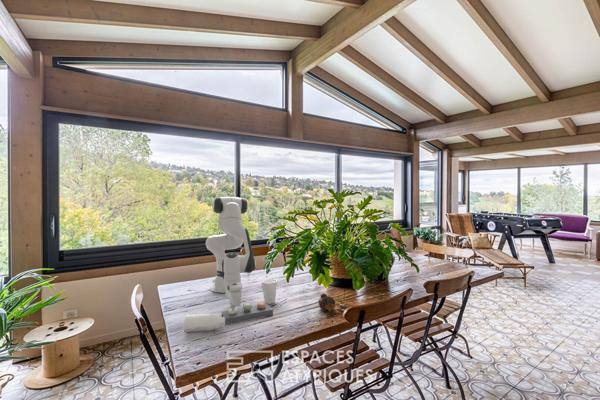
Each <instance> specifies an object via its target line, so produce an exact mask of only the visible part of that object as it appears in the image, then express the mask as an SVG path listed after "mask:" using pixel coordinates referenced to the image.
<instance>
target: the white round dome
mask: <svg viewBox="0 0 600 400" xmlns="http://www.w3.org/2000/svg"><path fill="white" fill-rule="evenodd" d="M237 309H238V308H237V307H235V310H232V309H231V308H230V307H229V308H228V310H227V311H228V314H230V315H233V314H236V313H237Z"/></svg>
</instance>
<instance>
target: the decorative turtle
mask: <svg viewBox="0 0 600 400" xmlns="http://www.w3.org/2000/svg"><path fill="white" fill-rule="evenodd" d="M318 305H319V307H320V310H321V311H322V312H323V313H325V312H326V311H328V312H330V313H333V312H334V311H335V306H336V301H335V299H334V298H333V297H332V296H328V294H326V293H324V292H323V293H321V294H320V297H319V299H318Z"/></svg>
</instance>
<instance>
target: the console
mask: <svg viewBox="0 0 600 400" xmlns="http://www.w3.org/2000/svg"><path fill="white" fill-rule="evenodd" d="M265 306H266V307H265V308H264V309H258V308H257V304H256V305H252V308H251V309H250V311H249V312H245V310H244V309H243V307H239V308H237V313H236V314H233V315H230V314H228V310H224V311H221V317H222V318H223V317H225V325H229V324H236V323H240V322H245V321H250V320H253V319H255V320H256V319H260V318H264V317H268V316H273V315H274V309H273V308H272V307H271V306H270V304H267V303H265ZM225 325H224V326H225Z"/></svg>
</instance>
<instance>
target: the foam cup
mask: <svg viewBox="0 0 600 400" xmlns="http://www.w3.org/2000/svg"><path fill="white" fill-rule="evenodd" d="M261 286H262V293H263V301H264V303H265V304H266V303H267V304H268V305H270V304H274V303H275V302H276V295H277V287H278V280H277V279H276V278H265V279H263V280H261Z"/></svg>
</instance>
